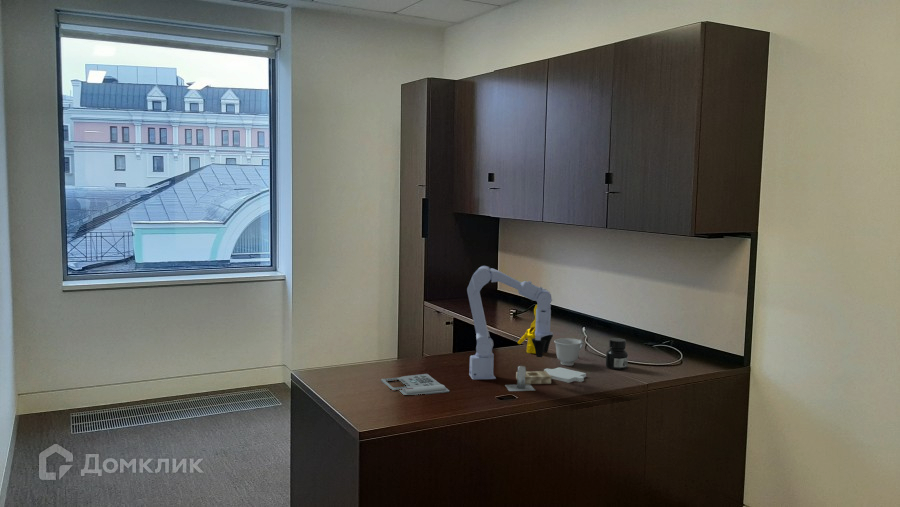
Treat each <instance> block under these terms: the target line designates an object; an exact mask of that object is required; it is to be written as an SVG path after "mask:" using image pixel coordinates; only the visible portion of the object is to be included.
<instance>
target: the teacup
mask: <svg viewBox="0 0 900 507" xmlns="http://www.w3.org/2000/svg"><path fill="white" fill-rule="evenodd" d="M553 342H554V344H555V351H556V357H557V360H559V361H560V365H562V366H574V365H575V362H576V361H578V358H579V356H580V355H579V354H580V351H581V350H582V349H583V347H584V341H583V339H577V338H572V337H571V338H567V337H565V338H564V337H561V338H556V339H554V341H553Z"/></svg>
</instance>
